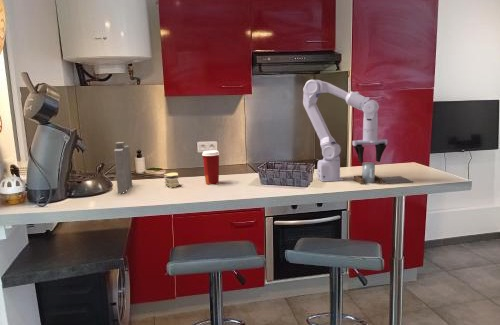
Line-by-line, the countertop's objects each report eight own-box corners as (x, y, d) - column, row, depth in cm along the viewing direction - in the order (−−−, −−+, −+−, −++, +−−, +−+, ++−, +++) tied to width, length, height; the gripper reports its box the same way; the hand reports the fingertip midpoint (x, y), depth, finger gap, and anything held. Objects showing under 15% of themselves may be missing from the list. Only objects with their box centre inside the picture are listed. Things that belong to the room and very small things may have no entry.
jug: (367, 184, 166) (367, 165, 165) (360, 181, 173) (360, 162, 172) (378, 184, 167) (379, 164, 165) (371, 180, 174) (371, 162, 172)
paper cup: (224, 181, 180) (222, 150, 177) (215, 185, 173) (214, 153, 170) (208, 180, 183) (207, 150, 180) (199, 184, 176) (198, 152, 174)
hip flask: (125, 193, 164) (121, 144, 160) (114, 194, 163) (110, 144, 160) (132, 184, 179) (129, 139, 176) (123, 185, 179) (119, 140, 176)
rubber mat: (387, 184, 166) (387, 182, 166) (376, 178, 177) (376, 177, 177) (413, 182, 168) (413, 181, 168) (400, 177, 178) (400, 176, 178)
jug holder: (361, 184, 167) (361, 179, 167) (353, 180, 175) (354, 175, 174) (382, 183, 168) (382, 178, 168) (373, 179, 176) (374, 174, 176)
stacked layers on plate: (186, 187, 173) (186, 174, 172) (166, 190, 168) (165, 177, 167) (178, 183, 181) (177, 171, 180) (158, 186, 177) (157, 173, 176)
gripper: (357, 131, 163) (357, 164, 165) (391, 129, 165) (390, 162, 167) (350, 129, 169) (350, 161, 172) (383, 128, 172) (382, 159, 174)
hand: (369, 162), depth 170 cm, fingers open, 7 cm apart
